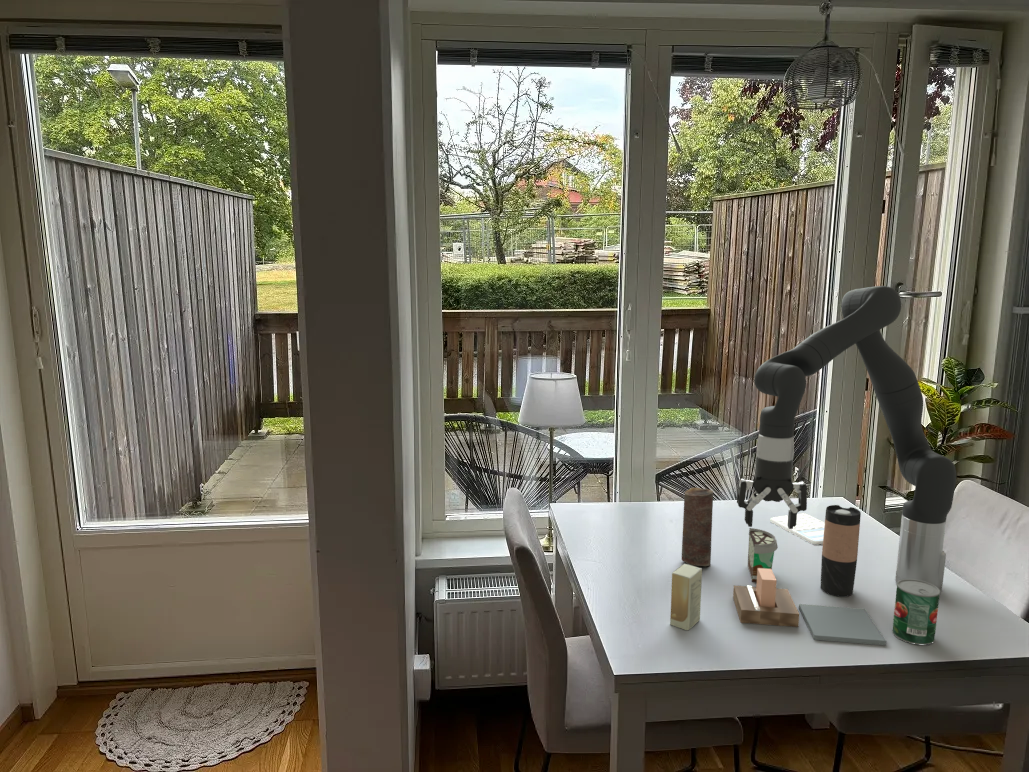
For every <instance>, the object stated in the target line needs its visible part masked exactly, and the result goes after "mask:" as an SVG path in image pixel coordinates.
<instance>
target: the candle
mask: <svg viewBox="0 0 1029 772" xmlns="http://www.w3.org/2000/svg"><path fill="white" fill-rule="evenodd" d="M713 504H714V491H713V490H712V489H709V488H700V487H691V488H689V489H686V491H685V492H684V497H683V516H682V517H683V518H682V519H683V520H682V536H681V539H682V541H681V561H682V562H684V563H685V564H688V565H691V566H695V567H708V566H711V563H712V562H711V560H712V536H713V535H712V534H713V533H712V532H713V530H712V528H713V506H714V505H713Z"/></svg>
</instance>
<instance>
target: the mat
mask: <svg viewBox="0 0 1029 772" xmlns="http://www.w3.org/2000/svg"><path fill="white" fill-rule="evenodd" d="M798 611H799V612H800V614H801V616H802V618H803V620H804V622H805V624H806V626H807V628H808V631H809V632H810V635H811V637H812V639H813V640H814V641H826V642H827V641H828V642H839V643H853V644H862V645H863V644H864V645H865V644H866V645H876V646H877V645H878V646H886V644H887V640H886V638H885V637H884V635H883V633H881V631H880V629H879V628H878V626H877V624H876V623H875V622H874V621H873V619H872V617H871V616H870V615H869V612H868V611H867V610H866V609H865V608H862V607H861V608H859V607H847V606H833V605H832V606H830V605H819V604H807V603H806V604H803V603H799V604H798Z"/></svg>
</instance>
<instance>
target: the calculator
mask: <svg viewBox="0 0 1029 772" xmlns="http://www.w3.org/2000/svg"><path fill="white" fill-rule="evenodd" d="M769 521H770V523H772V524H773V525H776V526H778V527H779V528H780V529H783V530H785V531H786V532H788V531H789V532H788V533H790V532H791V533H790V534H792V533H793V534H792V535H794V536H796V537H798V538H800V539H801V540H803V539H804V540H803V541H805V540H806V541H805V542H807V541H808V543H809V544H811V545H814V546H819V544H821V545H823V537H824V526H825V521H822V520H821V519H818V518H816V517H814V516H811V515H810V514H807V513H806V512H805V513H803V512H802V513H797V521H796V526H795V527H793V529H789V528H788V514H786V515H780V516H774V517H773V516H771V518H770V519H769Z"/></svg>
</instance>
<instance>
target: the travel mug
mask: <svg viewBox="0 0 1029 772" xmlns="http://www.w3.org/2000/svg"><path fill="white" fill-rule="evenodd" d="M861 513H862V512H861V511H860V510H859V509H857V508H855V507H853V506H852V507H851V506H850V507H842V506H840V505H839V504H831V505H828V506H826V509H825V518H824V523H825V526H824V537H823V544H822V551H821V567H820V569H821V570H820V589H821V591H822V592H824V593H825V594H828V595H830V596H834V597H843V598H845V597H849V596H852V595H853V594H854V587H855V579H856V571H857V564H858V563H857V562H858V556H859V555H858V554H859V542H860V541H859V539H860V529H861V528H860V527H861V517H862V515H861Z"/></svg>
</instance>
